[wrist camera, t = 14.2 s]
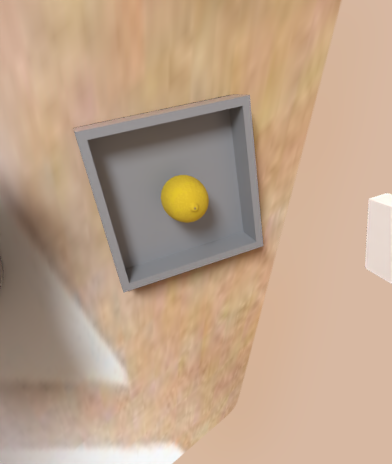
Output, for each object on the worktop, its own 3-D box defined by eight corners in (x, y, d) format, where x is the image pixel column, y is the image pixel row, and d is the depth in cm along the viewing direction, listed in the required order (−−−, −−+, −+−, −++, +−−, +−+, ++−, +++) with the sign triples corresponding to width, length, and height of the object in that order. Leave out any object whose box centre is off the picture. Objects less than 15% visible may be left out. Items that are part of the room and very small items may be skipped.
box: (118, 275, 48) (123, 292, 44) (73, 127, 39) (74, 132, 36) (248, 234, 53) (263, 246, 49) (233, 94, 44) (249, 95, 40)
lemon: (155, 168, 44) (172, 183, 37) (196, 169, 46) (220, 184, 39) (153, 211, 46) (169, 232, 39) (193, 210, 48) (215, 230, 41)
